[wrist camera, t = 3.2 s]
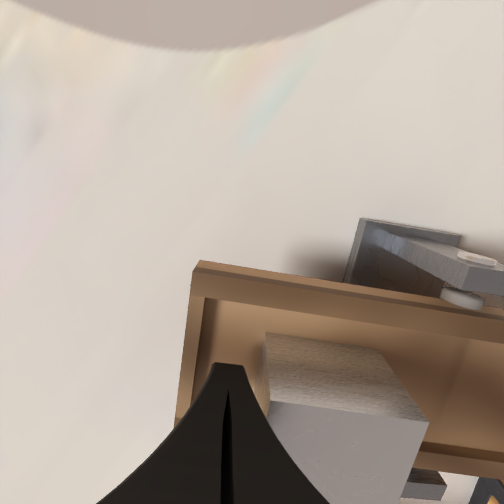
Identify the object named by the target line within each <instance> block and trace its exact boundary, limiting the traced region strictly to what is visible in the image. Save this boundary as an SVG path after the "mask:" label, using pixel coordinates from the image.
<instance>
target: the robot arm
mask: <svg viewBox="0 0 504 504" xmlns="http://www.w3.org/2000/svg"><path fill="white" fill-rule="evenodd" d="M97 504H330V503H329V502H328V501H327V500H326V499H325V498H324V497H323V496H322V494H321V493H320V492H319V491H318V490H317V489H316V488H315V487H314V486H313V484H312V483H311V482H310V481H309V480H308V478H307V477H306V476H305V475H304V473H303V472H302V471H301V470H300V469H299V467H298V466H297V465H296V464H295V462H294V461H293V460H292V458H291V457H290V455H289V454H288V453H287V451H286V450H285V448H284V447H283V445H282V444H281V442H280V441H279V439H278V438H277V436H276V435H275V433H274V431H273V430H272V428H271V426H270V424H269V423H268V421H267V419H266V417H265V415H264V413H263V412H262V410H261V408H260V406H259V403H258V401H257V399H256V397H255V395H254V393H253V390H252V388H251V385H250V383H249V380H248V377H247V374H246V371H245V368H244V367H243V365H237V364H228V363H220V362H215V363H213V364H212V366H211V370H210V372H209V375H208V377H207V379H206V381H205V383H204V385H203V387H202V388H201V390H200V392H199V393H198V395H197V397H196V399H195V400H194V402H193V403H192V405H191V406H190V407H189V409H188V410H187V412H186V413H185V415H184V416H183V418H182V419H181V420H180V422H179V423H178V424H177V425H176V427H175V428H174V429H173V430H172V432H171V433H170V434H169V435H168V436H167V438H166V439H165V440H164V441H163V442H162V443H161V444H160V445H159V446H158V448H157V449H156V450H155V451H154V452H153V453H152V454H151V455H150V456H149V457H148V458H147V459H146V460H145V461H144V462H143V463H142V464H141V465H140V466H139V467H138V468H137V469H136V470H135V471H134V472H133V473H131V474H130V475H129V476H128V477H127V478H126V479H125V480H124V481H123V482H122V483H121V484H120V485H118V486H117V487H116V488H115V489H114V490H113V491H111V492H110V493H109V494H108V495H106V496H105V497H104V498H103V499H101V500H100V501H99V502H98V503H97Z"/></svg>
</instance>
